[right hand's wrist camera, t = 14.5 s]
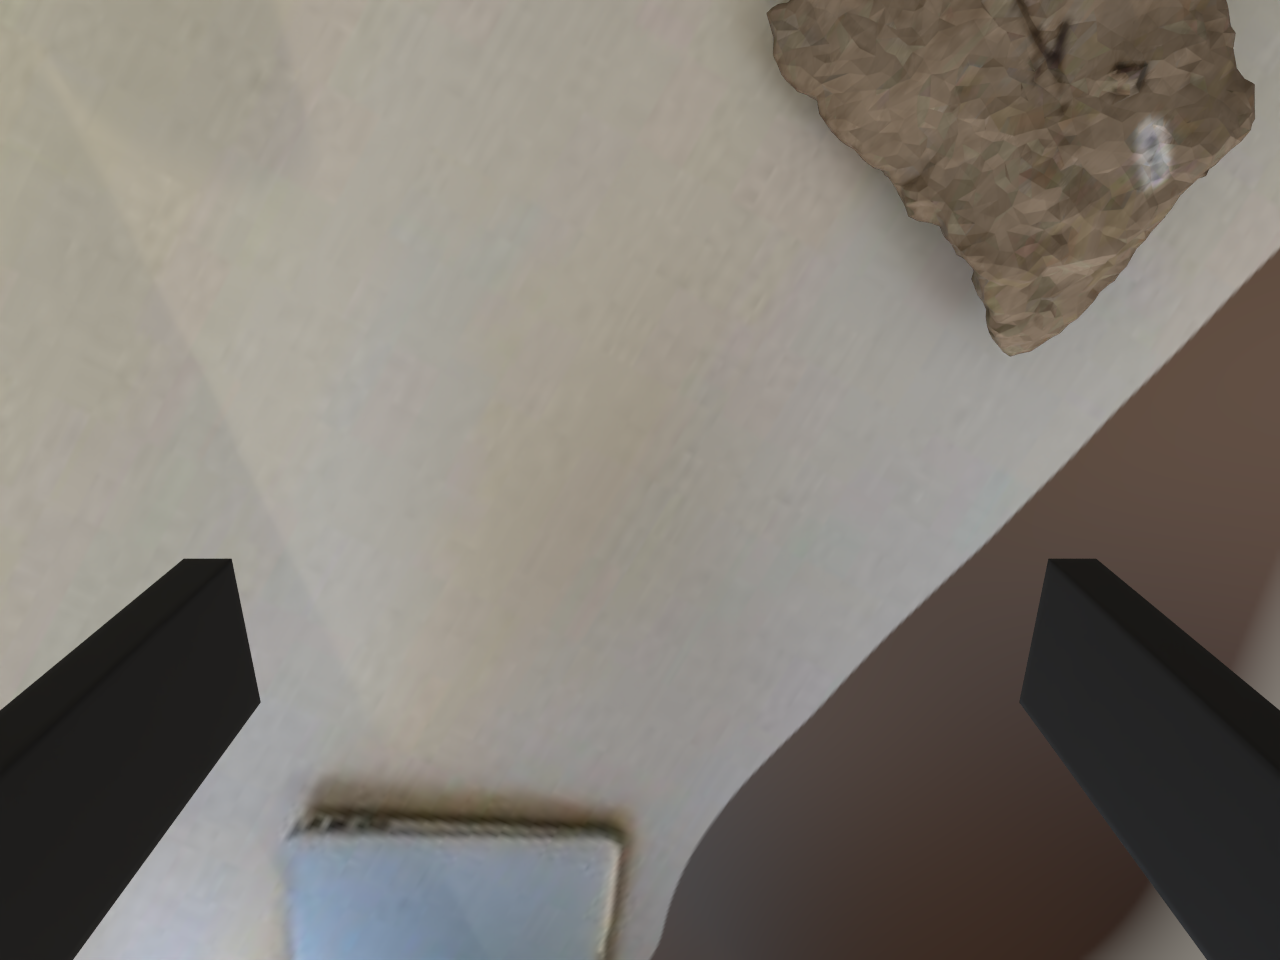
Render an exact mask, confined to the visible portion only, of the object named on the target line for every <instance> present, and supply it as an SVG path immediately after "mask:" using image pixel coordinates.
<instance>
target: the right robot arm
mask: <svg viewBox="0 0 1280 960" xmlns="http://www.w3.org/2000/svg"><path fill="white" fill-rule="evenodd" d="M259 704H260V697H259V692H258V687H257V682H256V677H255V672H254V667H253V662H252V657H251V653H250V648H249V643H248V638H247V633H246V628H245V623H244V618H243V613H242V608H241V603H240V598H239V593H238V588H237V583H236V578H235V573H234V569H233V564H232V559H183V560H182V561H181V562H179V563H178V564H177V565H176V566H175V567H173V568H172V569H171V570H170V571H168V572H167V573H166V574H165V575H164V576H162V577H161V578H160V579H159V580H158V581H156V582H155V583H154V584H153V585H152V586H150V587H149V588H148V589H147V590H145V591H144V592H143V593H142V594H141V595H139V596H138V597H137V598H136V599H135V600H133V601H132V602H131V603H130V604H129V605H127V606H126V607H125V608H124V609H122V610H121V611H120V612H119V613H118V614H116V615H115V616H114V617H113V618H112V619H110V620H109V621H108V622H107V623H106V624H104V625H103V626H102V627H101V628H100V629H98V630H97V631H96V632H95V633H93V634H92V635H91V636H90V637H89V638H87V639H86V640H85V641H84V642H83V643H81V644H80V645H79V646H78V647H77V648H75V649H74V650H73V651H72V652H70V653H69V654H68V655H67V656H66V657H64V658H63V659H62V660H61V661H60V662H58V663H57V664H56V665H55V666H54V667H52V668H51V669H50V670H49V671H47V672H46V673H45V674H44V675H43V676H41V677H40V678H39V679H38V680H37V681H35V682H34V683H33V684H32V685H31V686H29V687H28V688H27V689H26V690H24V691H23V692H22V693H21V694H20V695H18V696H17V697H16V698H15V699H14V700H12V701H11V702H10V703H9V704H8V705H6V706H5V707H4V708H3V709H1V710H0V960H73V959H74V958H75V956H76V955H77V953H78V952H79V951H80V949H81V948H82V947H83V945H84V944H85V943H86V941H87V940H88V938H89V937H90V936H91V934H92V933H93V932H94V930H95V929H96V927H97V926H98V925H99V923H100V922H101V921H102V919H103V918H104V916H105V915H106V914H107V912H108V911H109V910H110V908H111V907H112V905H113V904H114V903H115V901H116V900H117V899H118V897H119V896H120V895H121V893H122V892H123V890H124V889H125V888H126V886H127V885H128V884H129V882H130V881H131V879H132V878H133V877H134V875H135V874H136V873H137V871H138V870H139V868H140V867H141V866H142V864H143V863H144V862H145V860H146V859H147V857H148V856H149V855H150V853H151V852H152V851H153V849H154V848H155V846H156V845H157V844H158V842H159V841H160V840H161V838H162V837H163V836H164V834H165V833H166V831H167V830H168V829H169V827H170V826H171V825H172V823H173V822H174V820H175V819H176V818H177V816H178V815H179V814H180V812H181V811H182V809H183V808H184V807H185V805H186V804H187V803H188V801H189V800H190V798H191V797H192V796H193V794H194V793H195V792H196V790H197V789H198V787H199V786H200V785H201V783H202V782H203V781H204V779H205V778H206V777H207V775H208V774H209V772H210V771H211V770H212V768H213V767H214V766H215V764H216V763H217V761H218V760H219V759H220V757H221V756H222V755H223V753H224V752H225V750H226V749H227V748H228V746H229V745H230V744H231V742H232V741H233V739H234V738H235V737H236V735H237V734H238V733H239V731H240V730H241V729H242V727H243V726H244V724H245V723H246V722H247V720H248V719H249V718H250V716H251V715H252V713H253V712H254V711H255V709H256V708H257V707H258V705H259ZM1020 704H1021V705H1022V706H1023V708H1024V709H1025V711H1026V712H1027V713H1028V715H1029V716H1030V717H1031V719H1032V720H1033V722H1034V723H1035V724H1036V726H1037V727H1038V729H1039V730H1040V731H1041V733H1042V734H1043V735H1044V737H1045V738H1046V739H1047V741H1048V742H1049V744H1050V745H1051V746H1052V748H1053V749H1054V750H1055V752H1056V753H1057V755H1058V756H1059V757H1060V759H1061V760H1062V761H1063V763H1064V764H1065V766H1066V767H1067V768H1068V770H1069V771H1070V772H1071V774H1072V775H1073V777H1074V778H1075V779H1076V781H1077V782H1078V783H1079V785H1080V786H1081V787H1082V789H1083V790H1084V792H1085V793H1086V794H1087V796H1088V797H1089V798H1090V800H1091V801H1092V803H1093V804H1094V805H1095V807H1096V808H1097V809H1098V811H1099V812H1100V814H1101V815H1102V816H1103V818H1104V819H1105V820H1106V822H1107V823H1108V825H1109V826H1110V827H1111V829H1112V830H1113V831H1114V833H1115V834H1116V835H1117V837H1118V838H1119V840H1120V841H1121V842H1122V844H1123V845H1124V846H1125V848H1126V849H1127V851H1128V852H1129V853H1130V855H1131V856H1132V857H1133V859H1134V860H1135V862H1136V863H1137V864H1138V866H1139V867H1140V868H1141V870H1142V871H1143V873H1144V874H1145V875H1146V877H1147V878H1148V879H1149V881H1150V882H1151V883H1152V885H1153V886H1154V888H1155V889H1156V890H1157V892H1158V893H1159V895H1160V896H1161V897H1162V899H1163V900H1164V901H1165V903H1166V904H1167V905H1168V907H1169V908H1170V910H1171V911H1172V912H1173V914H1174V915H1175V916H1176V918H1177V919H1178V921H1179V922H1180V923H1181V925H1182V926H1183V927H1184V929H1185V930H1186V931H1187V933H1188V934H1189V936H1190V937H1191V938H1192V940H1193V941H1194V942H1195V944H1196V945H1197V947H1198V948H1199V949H1200V951H1201V952H1202V953H1203V955H1204V956H1205V958H1206V959H1207V960H1280V710H1279V709H1277V708H1276V707H1275V706H1274V705H1272V704H1271V703H1270V702H1269V701H1268V700H1266V699H1265V698H1264V697H1263V696H1262V695H1260V694H1259V693H1258V692H1257V691H1256V690H1254V689H1253V688H1252V687H1251V686H1249V685H1248V684H1247V683H1246V682H1245V681H1243V680H1242V679H1241V678H1240V677H1239V676H1237V675H1236V674H1235V673H1234V672H1233V671H1231V670H1230V669H1229V668H1228V667H1226V666H1225V665H1224V664H1223V663H1222V662H1220V661H1219V660H1218V659H1217V658H1216V657H1214V656H1213V655H1212V654H1211V653H1210V652H1208V651H1207V650H1206V649H1205V648H1203V647H1202V646H1201V645H1200V644H1199V643H1197V642H1196V641H1195V640H1194V639H1192V638H1191V637H1190V636H1189V635H1188V634H1187V633H1185V632H1184V631H1183V630H1182V629H1180V628H1179V627H1178V626H1177V625H1176V624H1174V623H1173V622H1172V621H1171V620H1170V619H1168V618H1167V617H1166V616H1165V615H1164V614H1162V613H1161V612H1160V611H1159V610H1157V609H1156V608H1155V607H1154V606H1153V605H1151V604H1150V603H1149V602H1148V601H1147V600H1145V599H1144V598H1143V597H1142V596H1141V595H1139V594H1138V593H1137V592H1136V591H1135V590H1133V589H1132V588H1131V587H1130V586H1128V585H1127V584H1126V583H1125V582H1124V581H1122V580H1121V579H1120V578H1119V577H1118V576H1116V575H1115V574H1114V573H1113V572H1112V571H1110V570H1109V569H1108V568H1107V567H1105V566H1104V565H1103V564H1102V563H1101V562H1099V561H1098V560H1097V559H1048V564H1047V569H1046V574H1045V579H1044V583H1043V588H1042V593H1041V598H1040V603H1039V608H1038V613H1037V618H1036V623H1035V628H1034V633H1033V638H1032V643H1031V648H1030V653H1029V658H1028V662H1027V667H1026V672H1025V677H1024V682H1023V687H1022V692H1021V697H1020Z"/></svg>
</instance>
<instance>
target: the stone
mask: <svg viewBox="0 0 1280 960" xmlns="http://www.w3.org/2000/svg"><path fill="white" fill-rule="evenodd" d="M767 16H768V20H769V23H770V26H771V30H772V33H773V37H774V44H773V56H774V58H775V60H776V62H777V64H778V67H779V69H780V72H781V74H782V76H783V77H784V78H785V80H786V81H787V82H788V83H790V84H791V85H792V86H793V87H794V88H795V89H796V90H797V91H798V92H800V93H803V94H806V95H808V96H810V97H812V98H813V99H815V100H817V103H818V109H819V114H820V115H821V117H822V118H823V120H824V121H825V123H826V124H827V126H828V127H829V128H830V130H831V131H832V133H834V134H835V135H836V136H837V137H838V139H839V140H840V141H842V142H843V143H844V144H846V145H848V146H849V147H851V148H853V149H854V150H855V151H856V152H857V153H858V154H859V155H860V156H861V157H862V159H863V160H864V161H865V162H867V163H868V164H869V165H871V166H872V167H873V168H877V169H881V170H882V171H883V172H884V174H885V175H886V176H887V177H888V178H889V179H890V180H891V182H892V183H893V185H894V186H895V188H896V189H897V191H898V194H899V196H900V197H901V199H902V201H903V203H904V205H905V208H906V210H907V213H908V216H909V217H911V218H913V219H915V220H917V221H923V222H928V223H932V224H935V225H938V226H940V228H941V230H942V233H943V235H944V236H945V238H946V239H947V240H948V241H949V242H950V243H951V244H952V246H953V248H954V250H955V252H956V254H957V255H958V256H960V257H962V258H964V259H965V260H966V261H967V262H968V263H969V264H970V266H971V267H972V268H973V269H974V273H973V276H972V282H973V284H974V287H975V289H976V292H977V294H978V296H979V297H980V299H981V300H982V301H983V303H984V306H985V308H986V321H987V327H988V330H989V333H990V335H991V337H992V339H993V340H994V341H995V342H996V343H997V345H998V346H999V347H1000V348H1001V350H1002V351H1003V352H1004V353H1006V354H1007V355H1009V356H1013V355H1016V354H1020V353H1025V352H1030V351H1032V350H1033V349H1035V348H1037V347H1038V346H1040V345H1041V344H1043V343H1044V342H1046V341H1047V340H1049V339H1050V338H1052V337H1053V336H1055V335H1057V334H1060V333H1061V332H1062V331H1063V329H1064V328H1065V327H1066V326H1067V325H1068V324H1069V323H1071V322H1073V321H1074V320H1076V319H1077V318H1078V317H1079V316H1080V315H1081V314H1082V313H1083V312H1084V311H1085V310H1086V309H1087V308H1088V307H1089V306H1090V305H1091V304H1092V303H1093V301H1094V300H1095V299H1096V297H1097V295H1098V294H1099V293H1100V292H1101V291H1102V290H1103V289H1104V288H1105V287H1106V286H1108V285H1109V284H1110V283H1112V282H1113V281H1115V279H1116V278H1117V276H1118V275H1119V273H1120V272H1121V271H1122V270H1123V269H1124V268H1125V267H1126V266H1127V265H1128V263H1129V261H1130V259H1131V257H1132V256H1133V254H1134V252H1135V250H1136V249H1137V248H1138V247H1139V246H1140V245H1141V244H1142V243H1143V242H1144V241H1145V240H1146V238H1147V237H1148V235H1149V234H1150V232H1151V231H1152V230H1153V229H1154V228H1155V227H1156V226H1157V225H1158V224H1159V223H1160V222H1161V221H1162V220H1163V219H1164V218H1165V216H1166V214H1167V213H1168V212H1169V211H1170V210H1171V209H1172V207H1173V206H1174V204H1175V202H1176V201H1177V199H1178V198H1179V196H1180V195H1181V194H1182V193H1183V192H1184V191H1185V190H1186V189H1187V188H1189V187H1190V186H1191V185H1192V184H1193V183H1194V182H1195V181H1196V180H1197V179H1198V178H1201V177H1204V176H1206V175H1207V172H1208V170H1209V169H1210V168H1211V167H1213V166H1214V165H1216V164H1217V163H1218V162H1219V160H1220V159H1221V158H1222V157H1223V156H1225V155H1226V154H1227V153H1228V152H1229V151H1230V150H1231V149H1232V148H1233V147H1235V146H1236V145H1237V144H1238V143H1240V142H1241V141H1242V140H1243V139H1244V137H1245V136H1246V135H1247V134H1248V133H1249V131H1250V130H1251V126H1252V123H1253V121H1254V120H1255V84H1253V83H1252V82H1250V81H1248V80H1246V79H1244V78H1243V76H1242V75H1241V74H1240V72H1239V71H1238V70H1237V67H1236V62H1235V56H1234V51H1233V46H1234V40H1235V34H1236V33H1235V32H1234V30H1233V29H1232V27H1231V25H1230V18H1229V10H1228V5H1227V2H1226V0H790V1H789V2H788V3H783V4H778V5H776V6H774V7H773V8H771V9H770V10H769V11H768V12H767Z"/></svg>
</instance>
